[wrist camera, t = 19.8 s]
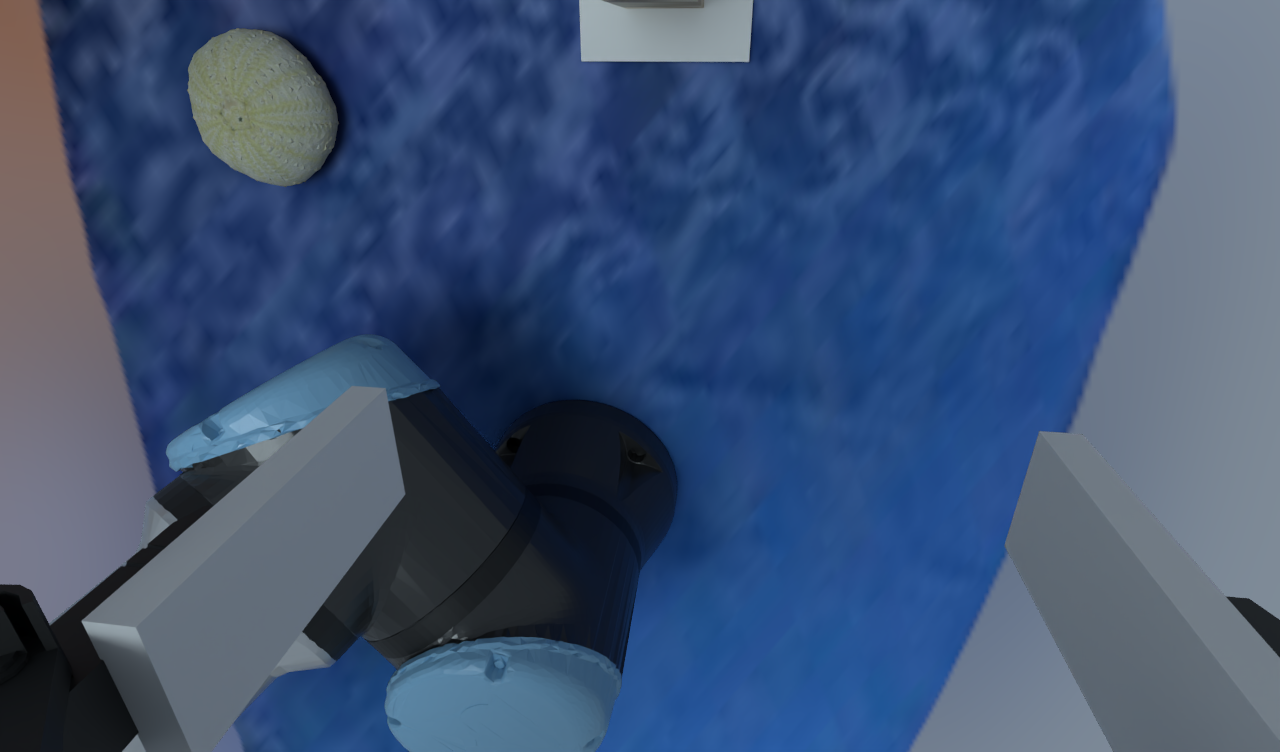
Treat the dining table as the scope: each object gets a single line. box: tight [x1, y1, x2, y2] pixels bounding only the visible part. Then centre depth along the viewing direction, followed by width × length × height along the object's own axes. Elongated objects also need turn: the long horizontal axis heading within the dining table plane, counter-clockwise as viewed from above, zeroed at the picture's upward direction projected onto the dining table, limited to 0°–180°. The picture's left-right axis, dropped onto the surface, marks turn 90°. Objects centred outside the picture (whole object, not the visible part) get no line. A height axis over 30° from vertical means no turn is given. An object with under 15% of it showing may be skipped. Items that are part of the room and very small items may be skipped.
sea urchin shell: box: [188, 28, 339, 187], centre depth 43 cm, size 9×8×8 cm
